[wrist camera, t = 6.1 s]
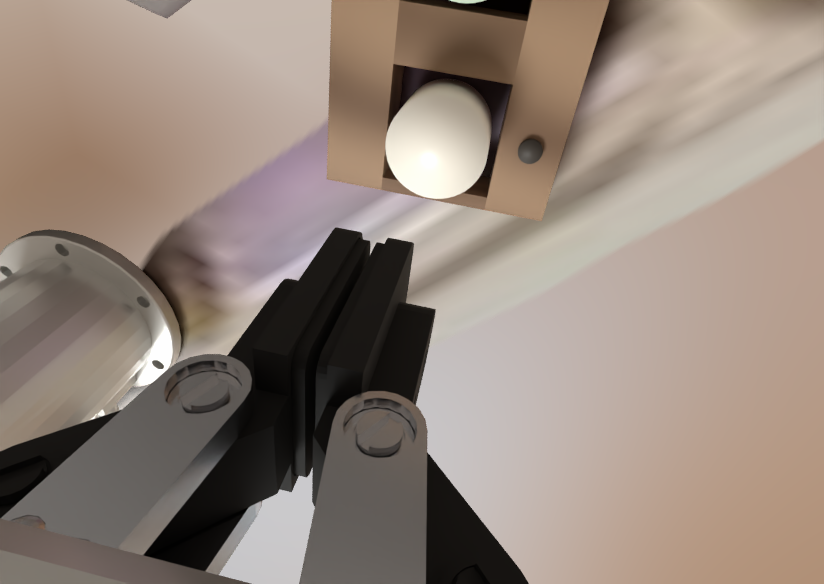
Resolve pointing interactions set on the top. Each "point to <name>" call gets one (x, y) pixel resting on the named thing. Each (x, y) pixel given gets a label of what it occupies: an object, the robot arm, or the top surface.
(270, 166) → the top surface
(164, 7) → the flask
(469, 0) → the button
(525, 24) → the panel
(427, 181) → the button
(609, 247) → the top surface
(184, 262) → the top surface
